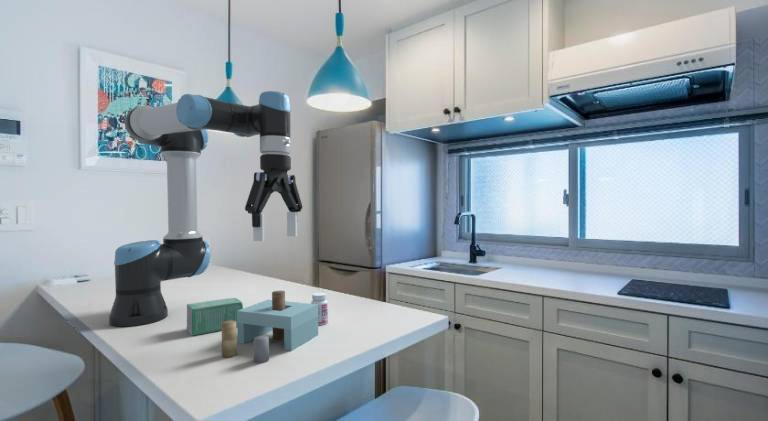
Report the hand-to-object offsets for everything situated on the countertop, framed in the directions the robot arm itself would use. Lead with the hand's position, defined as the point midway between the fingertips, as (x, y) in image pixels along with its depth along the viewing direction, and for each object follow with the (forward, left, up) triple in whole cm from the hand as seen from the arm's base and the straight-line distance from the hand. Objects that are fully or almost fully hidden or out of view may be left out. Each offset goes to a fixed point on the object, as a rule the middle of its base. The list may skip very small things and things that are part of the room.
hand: (276, 238), depth 101 cm
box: (-22, +1, -26) cm, 34 cm away
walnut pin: (0, 0, -26) cm, 26 cm away
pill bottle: (+3, +15, -26) cm, 30 cm away
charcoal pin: (+5, -13, -26) cm, 29 cm away
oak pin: (-4, -13, -26) cm, 29 cm away
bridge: (0, 0, -26) cm, 26 cm away
